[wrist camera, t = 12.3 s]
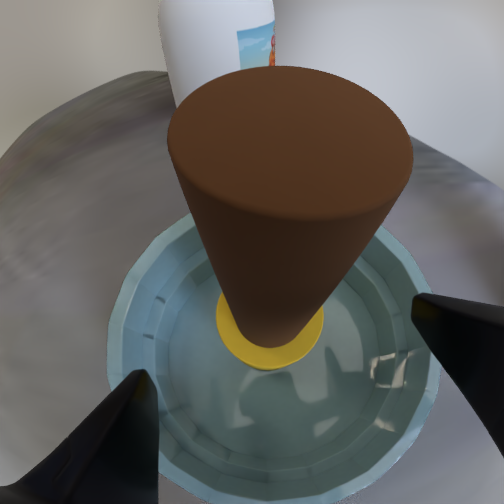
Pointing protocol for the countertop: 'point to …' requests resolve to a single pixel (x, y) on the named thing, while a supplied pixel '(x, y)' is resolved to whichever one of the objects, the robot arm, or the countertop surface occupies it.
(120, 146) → the countertop surface
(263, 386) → the bowl
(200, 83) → the milk bottle
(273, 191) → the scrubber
